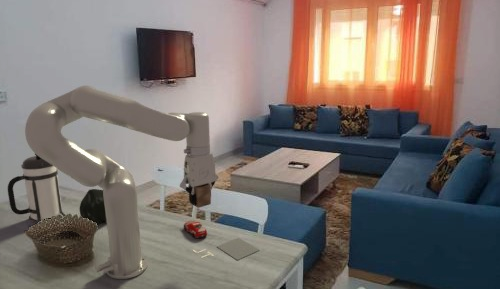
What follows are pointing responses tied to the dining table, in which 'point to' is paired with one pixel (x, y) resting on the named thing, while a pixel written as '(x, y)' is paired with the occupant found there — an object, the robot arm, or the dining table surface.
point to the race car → (195, 229)
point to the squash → (93, 206)
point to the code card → (204, 255)
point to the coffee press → (38, 189)
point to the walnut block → (203, 195)
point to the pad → (238, 248)
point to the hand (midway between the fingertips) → (200, 201)
